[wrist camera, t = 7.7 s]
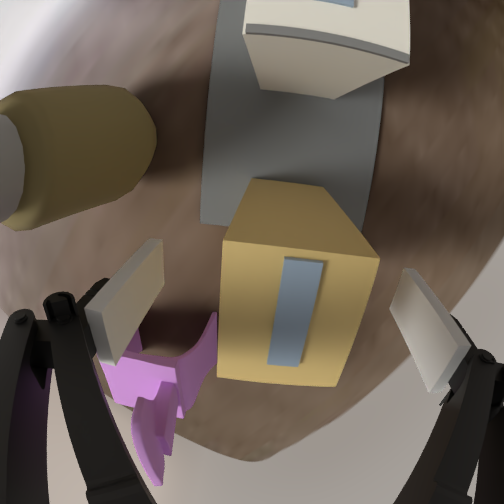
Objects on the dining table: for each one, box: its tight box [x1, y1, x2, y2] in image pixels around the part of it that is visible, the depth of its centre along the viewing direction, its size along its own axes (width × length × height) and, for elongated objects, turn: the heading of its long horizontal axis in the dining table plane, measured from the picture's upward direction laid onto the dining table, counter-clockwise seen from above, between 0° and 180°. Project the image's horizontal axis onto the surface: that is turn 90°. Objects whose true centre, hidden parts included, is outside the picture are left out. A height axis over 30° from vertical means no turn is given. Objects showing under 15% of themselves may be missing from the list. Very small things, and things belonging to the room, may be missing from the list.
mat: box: [200, 0, 385, 233], centre depth 17 cm, size 24×12×1 cm, turn 175°
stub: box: [217, 178, 380, 387], centre depth 16 cm, size 6×5×12 cm
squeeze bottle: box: [0, 85, 157, 231], centre depth 12 cm, size 8×8×18 cm
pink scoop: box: [96, 312, 217, 486], centre depth 20 cm, size 8×9×15 cm
